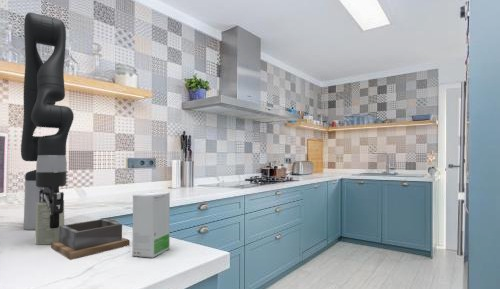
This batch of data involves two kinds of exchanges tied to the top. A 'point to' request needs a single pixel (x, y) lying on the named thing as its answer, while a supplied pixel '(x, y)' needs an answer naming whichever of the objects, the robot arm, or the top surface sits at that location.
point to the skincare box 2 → (151, 224)
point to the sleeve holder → (89, 238)
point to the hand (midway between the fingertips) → (50, 226)
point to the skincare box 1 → (46, 225)
